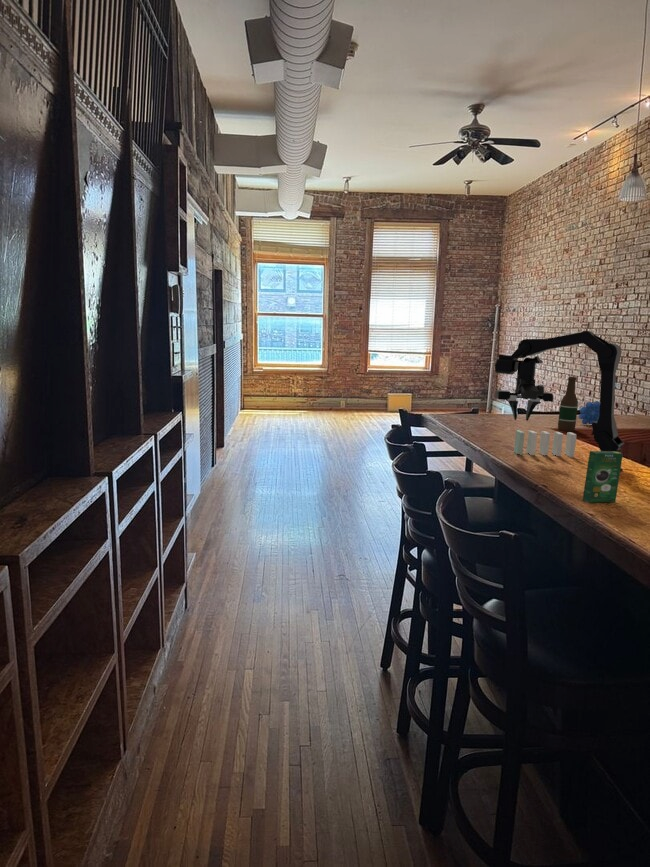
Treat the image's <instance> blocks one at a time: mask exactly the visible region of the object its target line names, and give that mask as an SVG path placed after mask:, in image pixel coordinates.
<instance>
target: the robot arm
mask: <svg viewBox="0 0 650 867" xmlns="http://www.w3.org/2000/svg"><path fill="white" fill-rule="evenodd" d="M583 344H584V345H585V346H586V347H588V348H589V349H590V350H591V351H592V352H594V353H595V354H596V355H597V363H598V366H599V367H598V368H599V370H600V389H599V390H600V392H599V393H600V395H599V403H600V411H599V418H598V421H595V422H593V423H592V425H591V426H592V427H591V428H592V432H591V436H593V440H594V441H595V442H596V444H598V449H599V451H616V452H620V453H622V452H621V451H622V450H621V449H622V448H623V447H624V445H625V442H624V441H623V440H622V439H621V437H620V436H619V434H618V427H617V423H616V419H615V397H616V395H615V394H616V376H617V375H616V374H617V370H618V367H619V364H620V360H621V356H622V348H621V347H620V346H619V344H617V343H614V342H613V343H612V342H611V343H609V342H608V341H606V340H605V339H603V338H601V337H600V336H598V335H596V334H595V333H594V332H593V331H592V330H591V331H590V330H583V331H580V332H576V333H571V334H564V335H558V336H555V337H549V338H524V339H521V341H520V342H519V344H518V345H517V349H516V350H515V351H513V353H512V354H511V355H508V354H503V353H501V354H498V357H497V359H496V361H495V364H494V372H495V374H499V375H500V374H501V375H514V374H515V373H517V375H516V377H515V382H516V384H515V389H514V392H511V391H509V390H507V389H506V390H503V389H497V390H495V391H494V398H495V399H497V400H504V401H505V402H508V404H509V406H510V408H511V413H512V416H513V419H514V421H516V420H517V419H518V404H519V401H518V400H517V399H523V400H527V406H526V411H525V412H526V414H525V421H529V419H530V417H531V415H532V413H533V412H534V409H535V408H536V406H538V404H541V403H542V401H543V402H554V394H553V393H552V392H549V391H545V386H544V385H543V384H537V385H536V379H535V375H536V366H537V364H542V363H543V360H541V358H540V357H539V356H538V355H539V354H541V353H544V352H546V351H550V350H554V349H560V348H564V347H565V348H567V347H570V346H576V345H583ZM536 355H537V356H536ZM532 356H534V357H532ZM521 359H523V360H521ZM541 400H542V401H541ZM623 470H624V468H622V467H621V469H620V472H621V471H623Z"/></svg>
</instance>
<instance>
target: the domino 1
mask: <svg viewBox="0 0 650 867" xmlns="http://www.w3.org/2000/svg"><path fill="white" fill-rule="evenodd" d="M524 439H525V432H524V431H523V430H518V429H517V430H515V438H514V446H513V447H514V448H513V453H514V452H515V454H516V455H517V454H520V455H519V456H523V452H524V451H523V450H524V441H525V440H524Z"/></svg>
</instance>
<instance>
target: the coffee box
mask: <svg viewBox="0 0 650 867" xmlns="http://www.w3.org/2000/svg"><path fill="white" fill-rule="evenodd" d="M588 453H589V454H588V460H587V466H586V467H587V468H586V473H585V474H586V475H585V482H584V487H583V488H584V489H583V495H582V501H583V502H585V503H588V504H589V503H591V504H592V503H594V504H595V503H597V504H598V503H616V500H617V494H618V486H619V480H620V474H621V471H620V469H621V468H622V463H623V462H622V461H623V456H624V454H623V452H616V451H601V450H589V452H588Z"/></svg>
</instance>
